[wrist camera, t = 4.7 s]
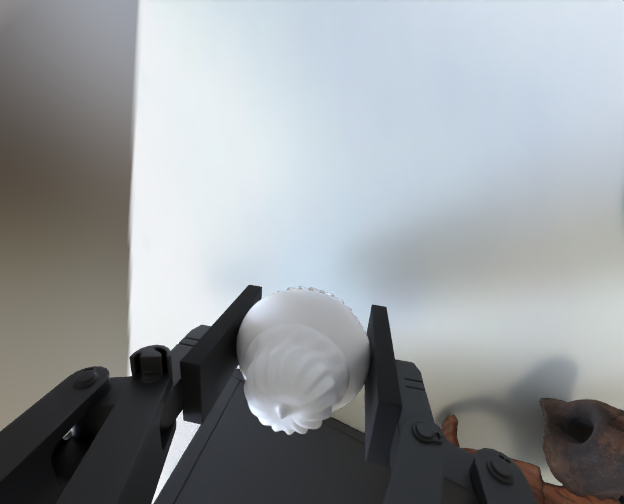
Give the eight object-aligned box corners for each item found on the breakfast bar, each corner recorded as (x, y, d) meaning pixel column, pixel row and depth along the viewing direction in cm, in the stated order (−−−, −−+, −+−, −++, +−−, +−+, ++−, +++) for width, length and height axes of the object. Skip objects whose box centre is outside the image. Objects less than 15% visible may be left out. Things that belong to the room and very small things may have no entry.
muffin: (241, 297, 17) (162, 386, 10) (327, 241, 15) (299, 306, 8) (303, 375, 18) (268, 503, 11) (391, 332, 16) (411, 454, 9)
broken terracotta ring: (568, 495, 21) (569, 645, 15) (439, 408, 25) (402, 500, 20) (711, 405, 14) (810, 611, 9) (504, 310, 19) (478, 404, 13)
